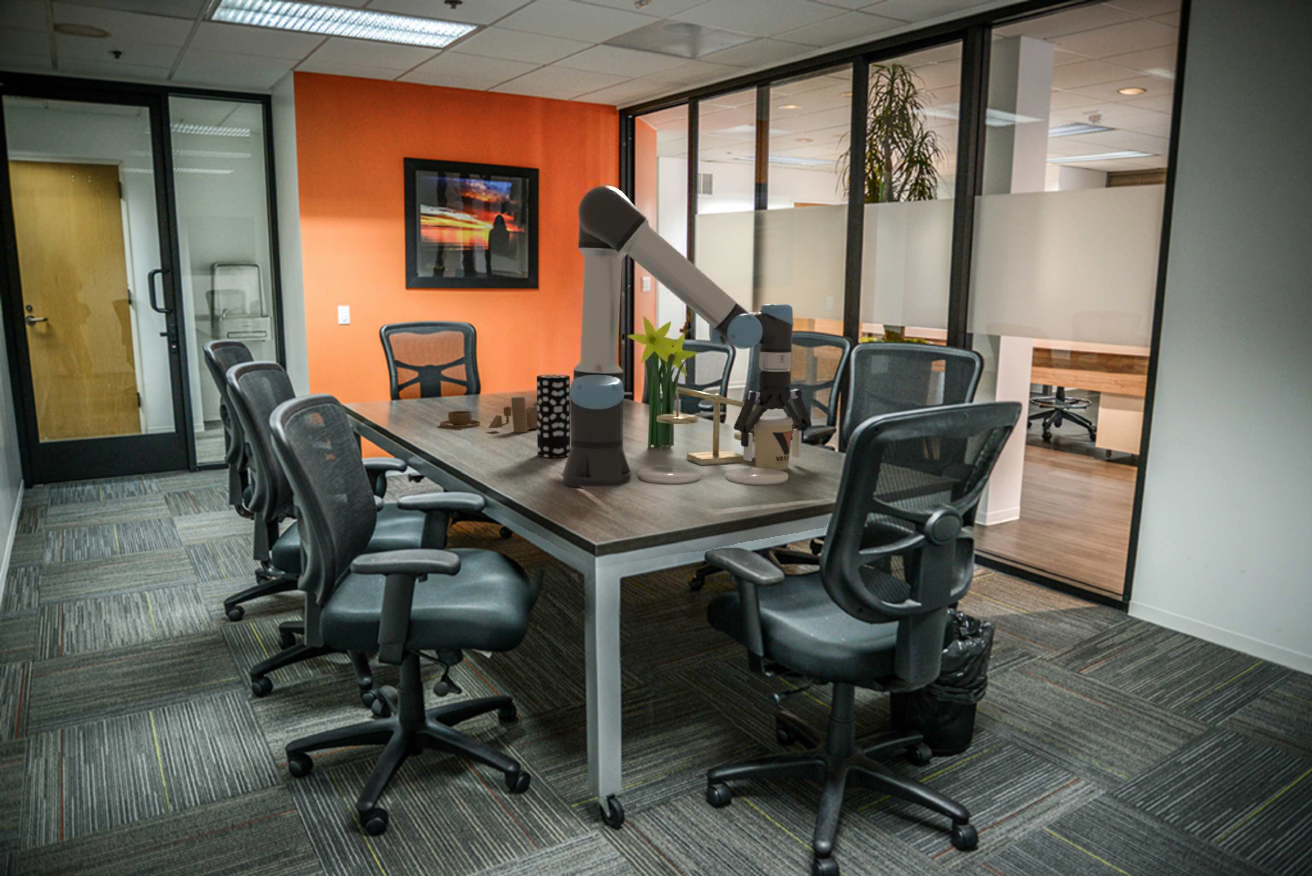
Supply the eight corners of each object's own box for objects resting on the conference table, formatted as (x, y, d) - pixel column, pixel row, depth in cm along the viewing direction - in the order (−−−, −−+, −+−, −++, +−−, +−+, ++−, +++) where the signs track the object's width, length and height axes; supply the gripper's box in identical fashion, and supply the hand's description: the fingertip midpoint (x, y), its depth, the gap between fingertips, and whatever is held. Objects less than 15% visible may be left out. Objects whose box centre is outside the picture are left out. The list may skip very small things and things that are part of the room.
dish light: (653, 485, 193) (653, 481, 193) (629, 473, 205) (629, 469, 205) (711, 480, 198) (711, 476, 198) (684, 469, 211) (684, 464, 211)
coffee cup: (779, 472, 208) (781, 421, 206) (745, 467, 214) (746, 417, 212) (798, 466, 216) (800, 417, 214) (764, 461, 221) (766, 413, 219)
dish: (744, 486, 193) (744, 482, 193) (714, 474, 205) (714, 470, 205) (799, 481, 198) (800, 477, 198) (767, 470, 211) (767, 465, 211)
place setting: (454, 423, 283) (454, 404, 282) (514, 425, 279) (514, 406, 278) (429, 431, 266) (429, 411, 265) (492, 434, 262) (492, 414, 261)
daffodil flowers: (665, 441, 250) (666, 315, 244) (703, 448, 240) (705, 316, 234) (619, 447, 239) (620, 315, 233) (657, 455, 228) (659, 317, 222)
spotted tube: (531, 455, 226) (530, 377, 222) (547, 450, 233) (546, 374, 230) (560, 458, 223) (560, 378, 219) (575, 453, 230) (575, 375, 227)
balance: (666, 468, 211) (667, 389, 208) (649, 461, 220) (650, 385, 217) (780, 459, 224) (782, 385, 221) (760, 453, 233) (762, 381, 230)
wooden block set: (540, 426, 274) (537, 393, 273) (556, 428, 267) (553, 394, 266) (488, 433, 262) (485, 398, 261) (504, 435, 256) (501, 399, 254)
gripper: (736, 372, 203) (734, 464, 206) (828, 369, 213) (824, 457, 216) (720, 369, 209) (718, 458, 213) (810, 367, 219) (807, 452, 223)
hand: (772, 458), depth 214 cm, fingers open, 13 cm apart
